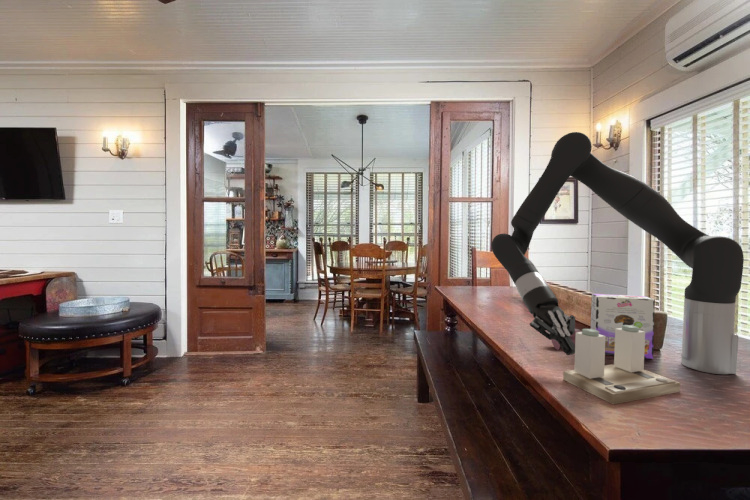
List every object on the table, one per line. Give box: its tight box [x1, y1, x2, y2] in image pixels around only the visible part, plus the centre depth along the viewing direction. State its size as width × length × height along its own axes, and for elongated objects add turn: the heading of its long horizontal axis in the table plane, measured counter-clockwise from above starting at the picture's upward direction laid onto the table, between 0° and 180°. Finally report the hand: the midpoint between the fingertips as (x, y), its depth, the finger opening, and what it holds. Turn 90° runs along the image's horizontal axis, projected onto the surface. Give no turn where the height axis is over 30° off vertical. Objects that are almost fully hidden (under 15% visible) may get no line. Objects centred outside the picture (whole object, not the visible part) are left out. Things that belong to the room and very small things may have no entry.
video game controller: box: [550, 328, 582, 351], centre depth 103 cm, size 10×5×7 cm, turn 85°
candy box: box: [590, 293, 656, 360], centre depth 98 cm, size 14×6×16 cm, turn 71°
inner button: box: [613, 325, 645, 372], centre depth 81 cm, size 4×4×10 cm
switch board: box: [563, 363, 681, 405], centre depth 77 cm, size 12×19×2 cm, turn 107°
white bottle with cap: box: [573, 328, 606, 379], centre depth 77 cm, size 4×4×10 cm
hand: (572, 353), depth 81 cm, fingers closed
